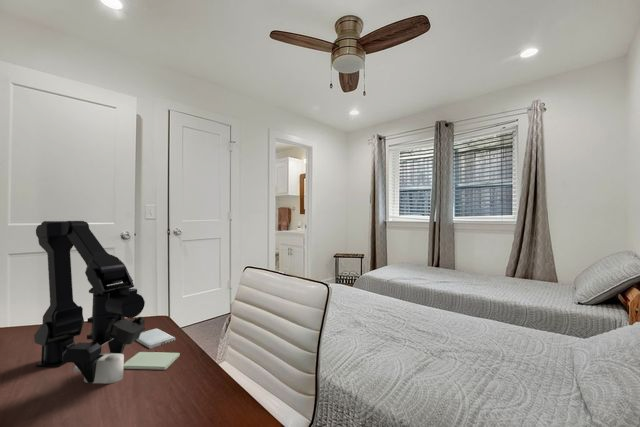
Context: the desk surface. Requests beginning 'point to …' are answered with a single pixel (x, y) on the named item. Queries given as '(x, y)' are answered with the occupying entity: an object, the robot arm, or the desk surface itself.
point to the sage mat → (151, 360)
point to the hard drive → (154, 338)
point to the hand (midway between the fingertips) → (104, 373)
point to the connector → (108, 368)
